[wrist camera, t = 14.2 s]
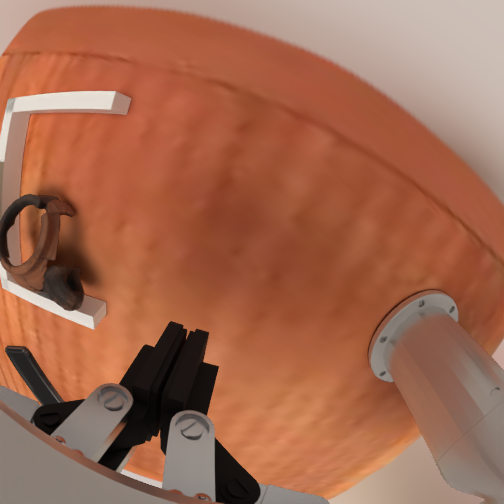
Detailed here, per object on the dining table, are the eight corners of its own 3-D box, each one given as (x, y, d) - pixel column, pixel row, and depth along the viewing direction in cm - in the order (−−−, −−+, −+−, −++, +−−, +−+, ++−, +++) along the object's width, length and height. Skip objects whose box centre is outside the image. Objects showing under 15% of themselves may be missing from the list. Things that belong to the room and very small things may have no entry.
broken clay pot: (25, 258, 23) (-20, 243, 15) (69, 197, 25) (31, 165, 17) (80, 333, 23) (34, 338, 15) (132, 264, 25) (96, 245, 17)
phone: (24, 349, 26) (73, 418, 31) (28, 345, 28) (76, 413, 32) (2, 347, 27) (47, 411, 32) (6, 344, 28) (49, 408, 33)
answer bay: (131, 98, 18) (109, 88, 14) (106, 314, 25) (89, 335, 21) (25, 101, 17) (2, 98, 13) (16, 277, 24) (-3, 291, 20)
